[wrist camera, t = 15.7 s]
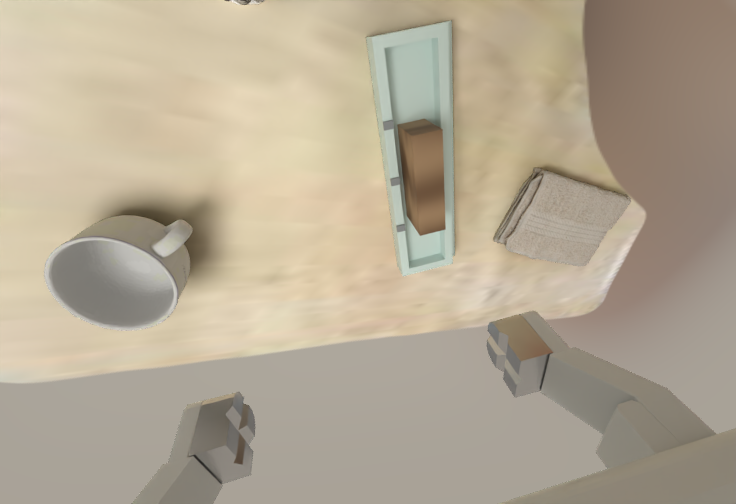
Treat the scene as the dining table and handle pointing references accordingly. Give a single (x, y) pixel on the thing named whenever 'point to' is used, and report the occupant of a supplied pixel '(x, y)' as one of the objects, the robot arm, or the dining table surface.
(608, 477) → the robot arm
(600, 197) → the washcloth
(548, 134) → the dining table surface
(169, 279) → the teacup
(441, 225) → the wooden block
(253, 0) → the decorative candle
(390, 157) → the ledge
